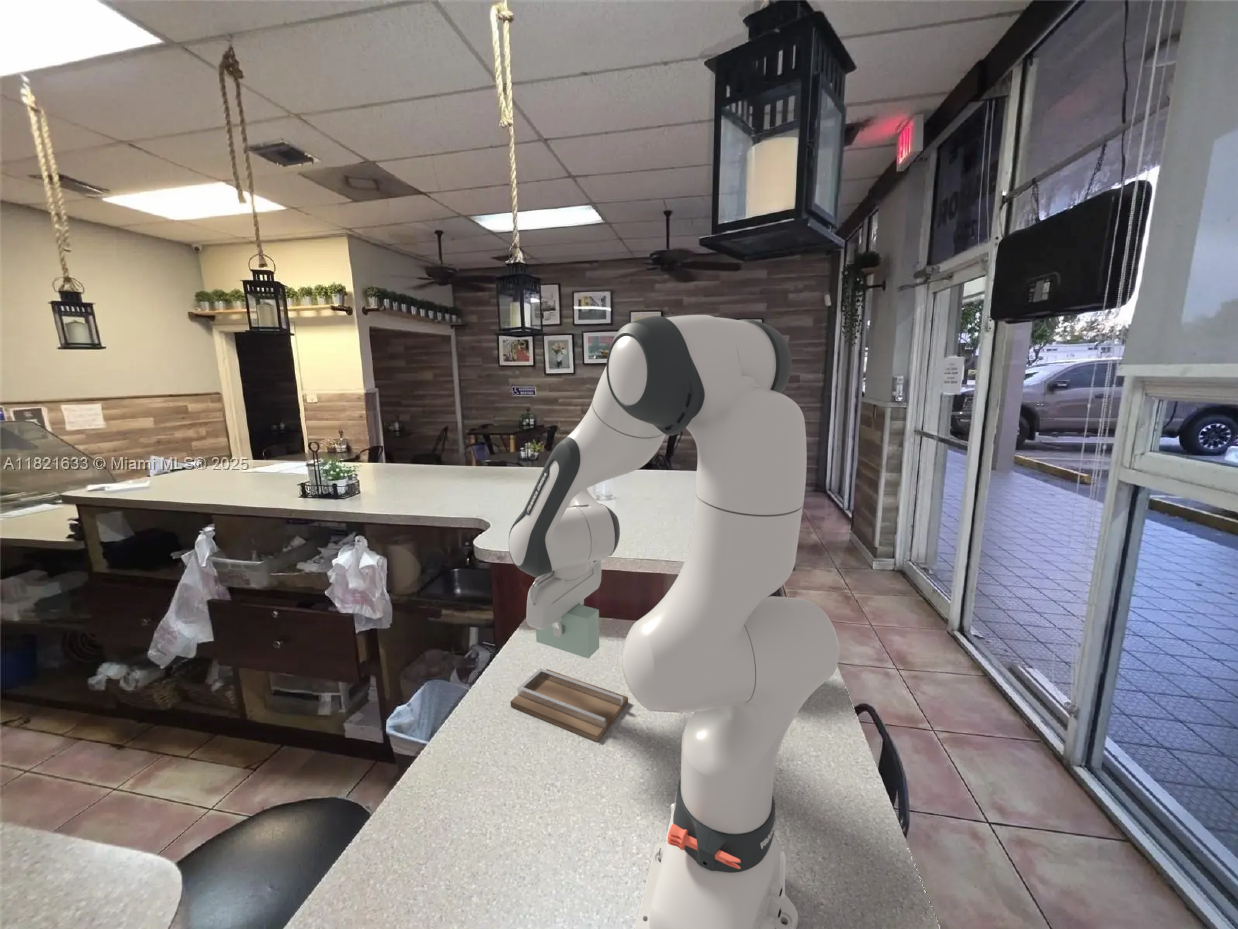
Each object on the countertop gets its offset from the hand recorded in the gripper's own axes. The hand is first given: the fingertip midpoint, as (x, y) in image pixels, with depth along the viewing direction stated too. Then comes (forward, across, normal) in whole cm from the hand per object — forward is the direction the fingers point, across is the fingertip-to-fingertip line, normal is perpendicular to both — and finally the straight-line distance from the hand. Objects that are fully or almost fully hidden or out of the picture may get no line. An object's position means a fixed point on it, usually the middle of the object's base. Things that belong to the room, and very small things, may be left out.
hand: (567, 627), depth 95 cm
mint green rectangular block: (+4, 0, 0) cm, 4 cm away
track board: (+17, 0, 0) cm, 17 cm away
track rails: (+15, 0, 0) cm, 15 cm away
